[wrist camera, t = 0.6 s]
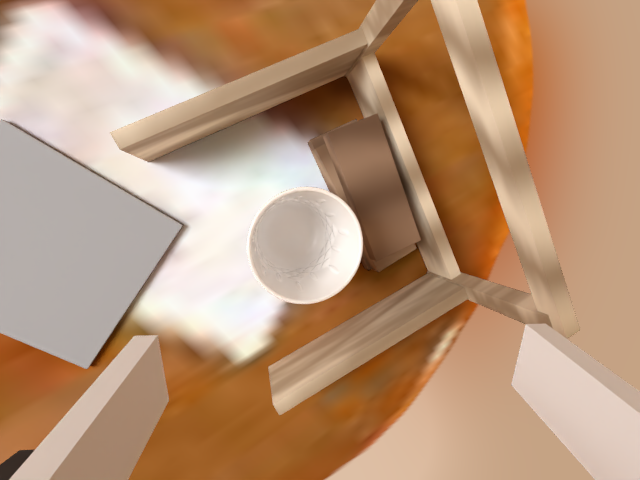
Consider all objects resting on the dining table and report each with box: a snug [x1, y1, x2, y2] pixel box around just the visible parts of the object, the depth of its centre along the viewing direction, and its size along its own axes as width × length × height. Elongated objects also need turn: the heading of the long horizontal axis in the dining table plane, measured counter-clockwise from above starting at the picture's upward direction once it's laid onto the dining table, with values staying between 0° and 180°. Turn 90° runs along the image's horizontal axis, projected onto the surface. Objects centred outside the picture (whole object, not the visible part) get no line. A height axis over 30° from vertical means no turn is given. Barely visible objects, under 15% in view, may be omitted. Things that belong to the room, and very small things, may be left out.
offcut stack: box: [308, 113, 421, 272], centre depth 29 cm, size 14×6×5 cm, turn 26°
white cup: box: [247, 187, 363, 304], centre depth 25 cm, size 8×8×10 cm
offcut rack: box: [110, 0, 580, 415], centre depth 23 cm, size 25×21×15 cm
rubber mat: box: [0, 119, 183, 369], centre depth 25 cm, size 15×15×1 cm
